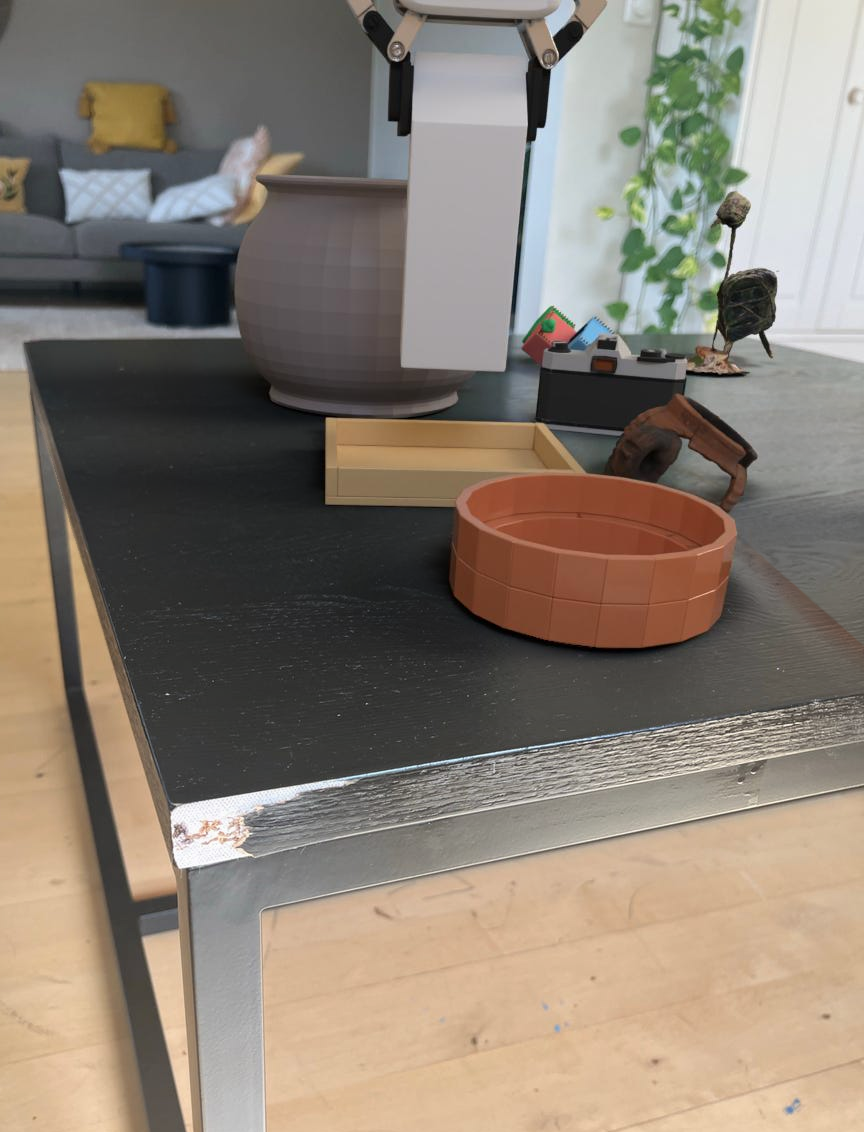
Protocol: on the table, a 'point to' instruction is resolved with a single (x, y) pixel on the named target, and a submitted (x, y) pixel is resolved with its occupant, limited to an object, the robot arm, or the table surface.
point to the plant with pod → (738, 300)
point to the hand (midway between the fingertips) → (465, 136)
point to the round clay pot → (333, 300)
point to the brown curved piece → (658, 445)
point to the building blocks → (560, 333)
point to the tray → (431, 458)
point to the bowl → (591, 558)
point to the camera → (605, 385)
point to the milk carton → (462, 209)
